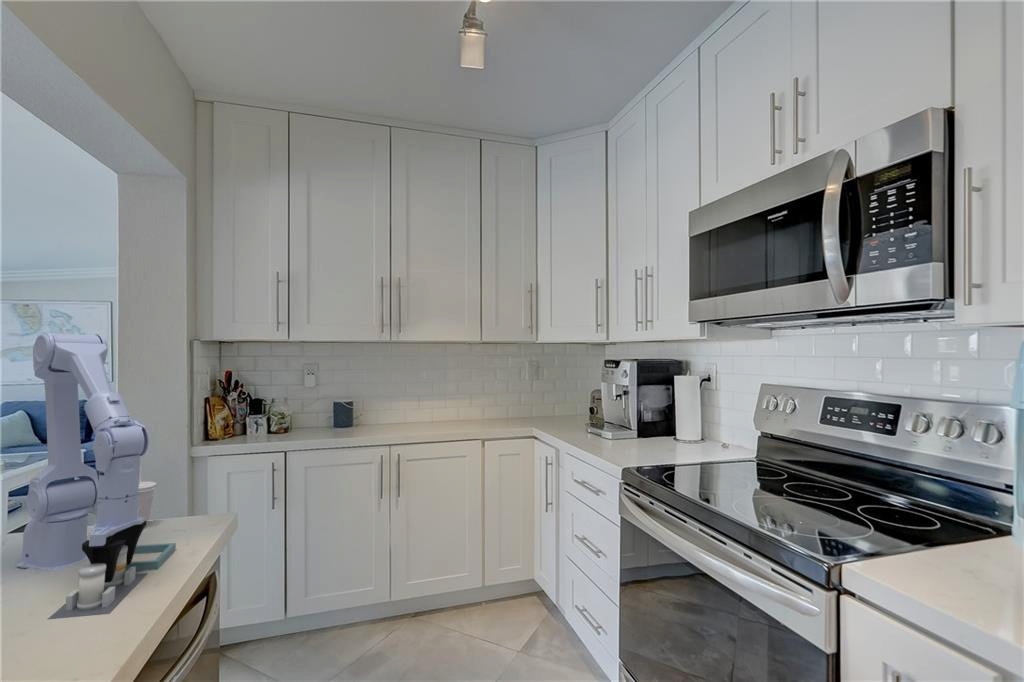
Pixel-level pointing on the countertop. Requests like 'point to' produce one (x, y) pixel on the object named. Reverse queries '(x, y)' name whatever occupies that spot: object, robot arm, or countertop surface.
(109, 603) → the fuse board
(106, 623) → the countertop surface
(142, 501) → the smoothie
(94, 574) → the cylinder
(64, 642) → the countertop surface
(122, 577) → the marked fuse
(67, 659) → the countertop surface
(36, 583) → the countertop surface
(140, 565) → the tray
